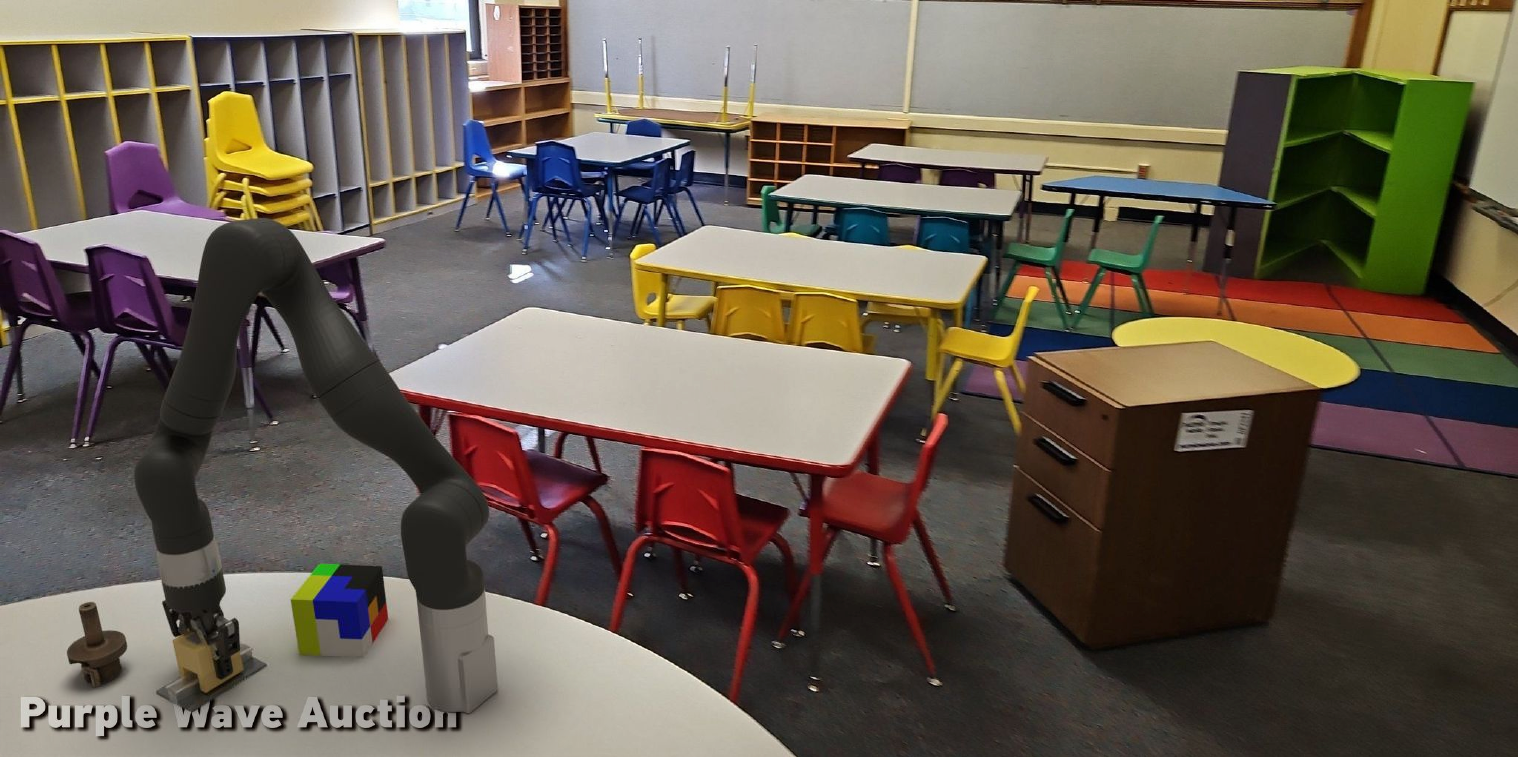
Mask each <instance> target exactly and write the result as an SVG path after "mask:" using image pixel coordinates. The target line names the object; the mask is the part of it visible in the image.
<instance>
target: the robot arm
mask: <svg viewBox="0 0 1518 757" xmlns="http://www.w3.org/2000/svg"><path fill="white" fill-rule="evenodd" d="M260 293H261V294H262V295H263V296H264V297H265V299H267V301H268V302H269V303H270V304H271V306H272V307H273V308H274V309H275V311H276V312H277V313H278V315H279V316H280V317H281V318H282V320H283V322H284V323H285V325H286V327H287V328H288V330H289V332H290V335H291V337H292V339H293V342H294V345H295V347H296V351H297V356H298V360H299V363H300V366H301V369H302V372H303V375H304V378H305V380H306V383H307V385H308V387H309V388H310V391H311V392H312V394H313V395H314V396H315V398H316V399H317V401H318V402H319V403H320V405H321V406H322V407H323V409H324V410H325V411H326V413H327V414H328V416H329V417H330V418H331V420H332V421H333V422H334V423H335V425H336V426H337V427H338V428H339V429H340V430H341V431H343V433H345V434H346V435H347V436H350V437H351V438H352V439H354V440H356V441H358V442H359V443H362V444H363V445H365V446H367V447H369V448H370V449H373V450H374V451H376V452H379V453H380V454H383V456H385V457H387V458H389V459H390V460H392V461H393V463H394V462H395V463H396V464H397V465H398V467H399V468H401V470H403V471H404V472H405V473H406V475H407V476H408V478H409V479H410V480H411V481H412V483H413V484H414V485H415V487H416V489H417V490H418V492H419V493H420V495H419V496H418V497H417V498H415V499H414V500H412V502H410V503H409V505H408V506H406V508H405V509H404V511H403V513H402V516H401V519H400V537H401V544H402V550H403V557H404V561H405V568H406V569H405V570H406V573H407V577H408V579H409V582H410V584H411V586H412V587H413V589H414V591H415V597H416V604H417V606H416V607H417V615H418V616H417V617H418V625H419V627H418V628H419V633H420V634H419V635H420V645H421V653H422V654H421V655H422V663H423V665H422V666H423V671H424V672H423V673H424V682H425V691H426V698H427V699H426V700H427V701H428V703H429V705H430V706H432V708H434V709H436V710H439V711H441V712H446V713H447V712H448V713H456V712H457V713H458V712H461V713H462V712H463V713H466V714H470V713H472V712H473V711H474V710H476V709H477V708H478V707H479V706H480V705H482V704H483V703H484V702H485V701H487V699H489V698H490V697H491V696H493V695H494V694H496V692H498V690H499V687H498V685H499V684H498V674H497V673H498V672H497V660H496V648H495V646H496V645H495V637H494V636H493V635H491V634H489V627H488V626H489V624H488V614H487V612H488V611H487V601H486V600H487V598H486V586H485V584H486V583H485V574H484V571H483V568H482V567H481V566H480V565H479V564H477V562H475V561H473V560H469V559H468V558H467V557H468V556H467V545H469V544H470V542H472V540H474V538H476V536H478V534H479V533H480V532H481V531H482V530H483V529H484V528H485V526H486V525H487V523H488V521H489V518H490V517H489V516H490V507H489V503H488V500H487V498H486V496H485V493H483V491H482V489H481V488H480V486H479V485H478V484H477V482H476V481H475V480H474V479H473V478H472V476H470V474H469V473H468V472H467V471H466V470H465V469H464V467H462V465H461V464H460V463H459V462H458V461H457V459H455V457H454V456H452V454H451V453H450V452H449V451H448V450H447V449H446V447H444V445H443V444H442V443H441V442H440V440H438V438H437V437H436V436H435V435H434V434H433V432H432V430H431V429H430V428H429V426H428V425H427V424H426V423H425V421H424V420H423V419H422V417H421V416H420V415H419V414H418V412H417V411H416V410H415V409H414V407H413V406H412V405H411V403H410V402H409V401H408V399H407V398H406V397H405V395H404V394H403V392H402V391H401V390H400V388H399V387H398V384H397V383H396V381H395V380H394V379H393V377H392V376H391V375H390V373H389V372H388V370H387V369H386V368H385V366H384V365H383V364H382V362H381V361H380V359H379V358H378V356H377V355H376V354H375V353H374V352H373V350H372V349H371V348H370V347H369V345H368V344H367V343H366V342H365V340H364V338H363V337H362V336H361V335H360V333H359V332H358V331H357V328H355V326H354V325H353V324H352V322H351V321H350V320H349V318H348V316H346V314H345V313H344V312H343V310H342V309H341V308H340V306H339V305H338V303H337V302H336V301H335V299H334V298H333V296H332V295H331V293H330V292H329V290H328V289H327V286H326V285H325V283H324V281H323V280H322V278H321V276H320V275H319V273H318V270H317V269H316V268H315V266H314V264H313V262H312V261H311V259H310V258H309V256H308V254H307V252H306V251H305V248H304V247H303V245H302V244H301V242H300V240H299V239H298V237H297V236H296V235H295V234H294V233H293V232H292V230H290V229H289V228H288V226H286V225H284V224H283V223H281V222H279V221H277V220H274V219H270V218H265V217H257V218H248V219H242V220H241V219H240V220H239V219H238V220H234V221H229V222H226V223H223V224H222V225H219V226H218V227H216V228H215V229H214V230H212V231H211V233H210V235H209V236H208V238H207V239H206V242H205V244H204V247H203V252H202V256H201V261H200V264H199V271H198V277H197V282H196V290H195V294H194V300H193V302H192V303H193V304H192V308H191V314H190V318H189V322H188V327H187V331H186V335H185V339H184V341H183V346H182V347H181V351H180V354H179V358H178V360H177V362H176V366H175V368H174V371H173V373H172V376H171V378H170V381H169V384H168V386H167V389H166V392H165V395H164V397H163V399H162V401H161V402H162V403H161V406H160V410H159V411H160V412H159V416H160V417H159V419H158V422H157V424H156V427H155V429H154V432H153V434H152V436H151V439H150V440H149V442H148V445H147V446H146V448H144V451H143V452H142V453H141V456H140V457H139V459H138V460H137V462H136V464H135V467H134V472H133V473H134V474H133V475H134V477H133V478H134V485H135V486H134V487H135V490H136V493H137V496H138V498H139V501H140V502H141V503H140V504H141V506H143V507H142V508H143V509H144V511H145V513H146V516H148V518H149V519H150V521H151V522H150V523H151V527H152V534H153V538H154V544H155V547H156V557H157V558H156V559H157V560H156V561H157V568H158V572H159V577H160V581H161V586H162V590H163V595H164V598H165V600H163V601H162V602H161V604H162V607H163V610H164V611H163V612H164V613H165V616H166V620H167V622H168V625H169V628H170V631H171V634H172V636H173V637H175V638H177V637H179V636H181V635H183V636H185V635H187V634H189V633H191V632H195V633H198V636H199V638H200V640H201V642H202V644H203V646H209V647H210V651H211V655H212V657H213V662H214V667H215V672H216V677H217V678H218V679H220V680H222V679H224V678H226V677H227V676H229V675H231V674H232V673H233V666H232V661H231V656H232V655H234V654H235V653H237V652H239V651H240V643H241V638H240V622H239V620H238V618H235V617H233V618H231V619H230V620H228V619H227V618H226V617H225V614H224V611H223V608H222V607H221V605H220V604H221V601H223V598H224V596H225V595H226V591H227V588H226V581H225V577H224V572H223V571H224V570H223V567H222V560H221V556H220V551H219V546H218V544H217V542H216V539H215V534H214V529H213V524H212V520H211V514H210V510H209V508H208V506H207V504H206V503H205V501H204V500H203V499H201V498H199V496H198V492H197V488H196V487H197V486H196V478H197V475H198V473H199V471H200V469H201V468H202V466H203V465H202V464H203V463H204V460H205V458H206V455H207V451H208V449H209V446H210V442H211V440H212V436H213V433H214V428H215V427H216V426H217V423H218V422H219V419H221V418H220V417H221V415H222V413H223V410H224V408H225V406H226V404H227V400H228V398H229V396H230V393H231V391H232V388H233V385H234V382H235V377H236V371H237V358H238V356H237V355H238V354H237V353H238V352H237V350H238V348H237V347H238V340H239V335H240V331H241V328H242V325H243V322H244V319H245V318H246V316H247V314H248V312H249V310H250V308H251V307H252V306H253V303H254V302H255V300H256V299H257V297H258V295H259V294H260ZM178 621H179V624H178V623H177V622H178ZM217 630H218V631H217ZM216 631H217V632H216ZM214 632H216V635H215V636H213V637H211V638H208V635H210V634H212V633H214ZM216 642H218V643H219V649H218V650H217V648H216V645H215V643H216ZM231 644H232V646H231Z"/></svg>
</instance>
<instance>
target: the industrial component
mask: <svg viewBox="0 0 1518 757" xmlns="http://www.w3.org/2000/svg"><path fill="white" fill-rule="evenodd" d="M78 612H79V615H80V616H79V617H80V620H81V625H82V629H83V633H84V635H83V636H82V637H80V638H78V639H77V640H74V641H73V642H72V643H71V644H70V645H69V647H68V648H67V650H66V655H67V660H68V664H69V665H75V664H80V665H81V666H80V668H81V673H83V679H84V681H85V683H87V684H86V685H89V683H91V684H92V687H93V688H96V687H99V686H102V685H103V684H105V683H108V682H110V681H112V680H114V679H116V678H117V677H118V676H119V675H120V674H121V673H122V671H123V668H122V664H121V660H120V659H121V657H122V656H123V655H124V654H125V653H126V651H127V650H128V643H127V639H126V635H125V634H124V632H121V631H118V630H114V629H113V630H103V628H102V624H101V619H100V614H99V611H98V607H97V603H96V602H94V601H88V602H84V603H82V604H80V605H79V607H78Z"/></svg>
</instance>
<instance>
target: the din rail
mask: <svg viewBox="0 0 1518 757" xmlns="http://www.w3.org/2000/svg"><path fill="white" fill-rule="evenodd" d="M253 650H254V648H253V647H252V646H250V645H248V644H245V643H243V642H240V654H241V659H242V665H243V671H241V672H239V673H238V674H236V675H234V676H233V677H231V678H229V679H228V680H226V681H225V682H223V683H221V684H220V685H218V686H216V687H215V688H213V689H212V690H210V691H208V692H207V693H205V692H203V691H201V688H200V683H199V679H198V674H196V673H194V672H190V673H189V674H187V675H185V676H183V677H182V678H180V676H179V677H177V678H175V679H174V680H172V681H171V682H169V683H167V684H166V685H164V686H162V687H161V688H159V689H156V690H155V694H157V695H159V696H160V697H163V698H164V699H166V700H168V701H169V702H172V703H174V704H176V705H177V706H179V707H181V708H183V709H185V710H186V711H189V712H191V713H193V712H195V711H196V710H198V709H200V708H201V707H203V706H204V705H206V704H208V703H210V702H211V701H213V700H215V699H216V698H218V697H219V696H220V694H221V695H222V694H224V693H225V692H227V691H229V690H230V689H232V688H234V687H235V686H237V685H239V684H240V683H241V681H242V680H243V681H244V679H245V678H246V679H248V678H249V677H248V676H250V675H251V676H253V675H254V674H256V673H257V671H258V672H259V671H261V670H262V669H264V668H266V667H267V666H268V664H267V663H266V662H264V661H262V660H260V659H258V658H256V657H254V655H253ZM255 672H256V673H255ZM252 674H253V675H252ZM251 676H250V677H251ZM247 677H248V678H247ZM246 679H245V680H246ZM243 681H242V682H243ZM239 682H240V683H239ZM234 685H235V686H234ZM212 699H213V700H212ZM207 702H208V703H207Z"/></svg>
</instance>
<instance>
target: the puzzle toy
mask: <svg viewBox="0 0 1518 757" xmlns="http://www.w3.org/2000/svg"><path fill="white" fill-rule="evenodd" d="M383 572H384V571H383V566H381V565H380V566H379V565H365V564H364V565H362V564H361V565H359V564H358V565H357V564H336V563H335V564H334V563H333V564H332V563H319V564H318V565H317V566H316V567H315V568H314V570H313V571H312V572H311V574H309V575H308V577H307V578H306V579H305V581H304V582H303V583H302V584H301V586H300V587H299V588H298V589H297V591H296V592H295V593H294V594H293V595H292V596H291V598H290V605H291V612H292V618H293V625H294V630H295V637H296V642H297V647H298V654H299V655H300V656H301V655H304V656H325V657H326V656H327V657H348V658H349V657H352V658H353V657H355V658H365V657H366V655H367V653H368V652H369V650H370V649H371V647H372V646H373V644H374V643H375V641H376V640H377V638H378V637H379V634H380V632H382V630H383V628H384V626H385V625H386V623H387V622H388V620H389V614H388V613H389V612H388V604H387V595H386V589H385V581H384V573H383Z"/></svg>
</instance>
